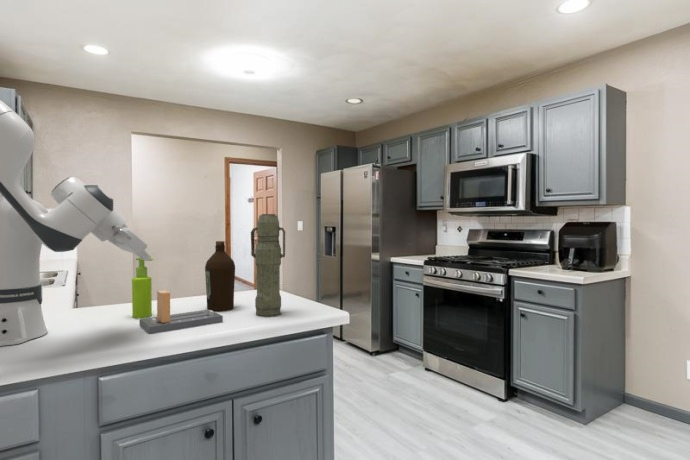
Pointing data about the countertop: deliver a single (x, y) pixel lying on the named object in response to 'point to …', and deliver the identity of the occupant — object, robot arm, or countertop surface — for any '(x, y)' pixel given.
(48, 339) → the countertop surface
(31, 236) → the robot arm
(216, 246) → the olive oil
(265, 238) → the thermos
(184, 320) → the console
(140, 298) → the soap dispenser
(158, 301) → the fader lever
